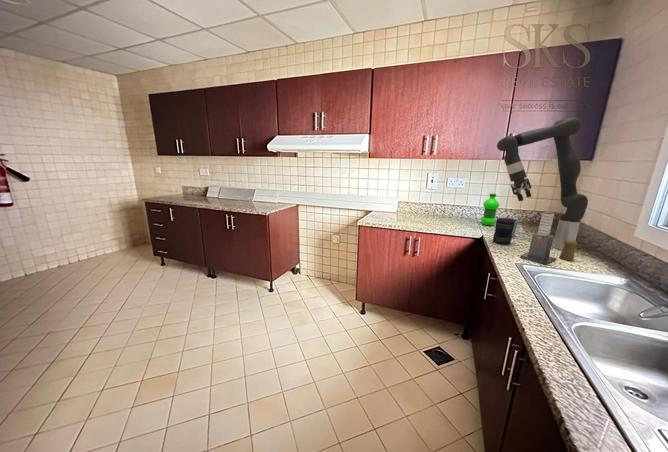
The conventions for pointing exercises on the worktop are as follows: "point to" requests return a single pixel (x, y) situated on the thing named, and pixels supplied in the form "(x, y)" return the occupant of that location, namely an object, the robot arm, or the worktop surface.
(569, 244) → the cork
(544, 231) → the column
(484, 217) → the plastic bottle
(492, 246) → the worktop surface
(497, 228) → the storage jar
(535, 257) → the stand base
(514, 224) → the drinking glass
